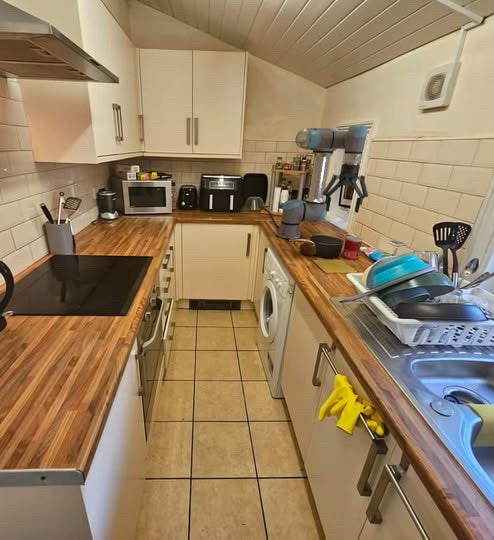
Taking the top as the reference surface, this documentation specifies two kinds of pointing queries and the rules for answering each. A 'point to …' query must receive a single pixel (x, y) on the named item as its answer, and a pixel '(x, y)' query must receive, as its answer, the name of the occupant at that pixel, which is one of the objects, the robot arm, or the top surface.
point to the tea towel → (334, 266)
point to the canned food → (352, 247)
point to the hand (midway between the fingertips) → (341, 211)
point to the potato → (307, 249)
